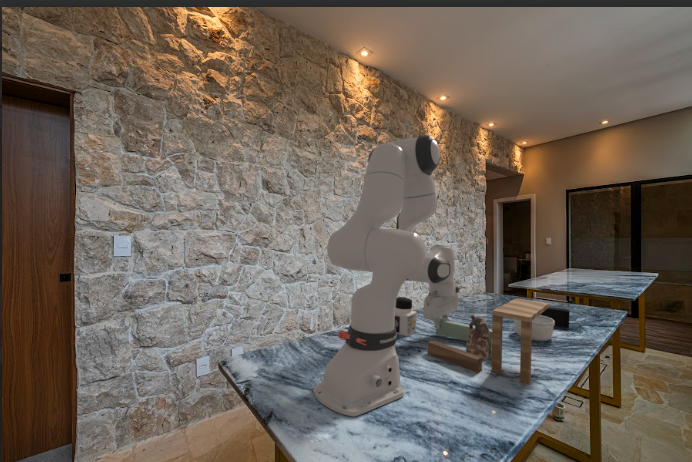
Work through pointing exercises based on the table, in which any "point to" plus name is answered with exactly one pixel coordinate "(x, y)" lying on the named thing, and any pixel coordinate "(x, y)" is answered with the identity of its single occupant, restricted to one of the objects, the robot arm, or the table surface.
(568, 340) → the table surface
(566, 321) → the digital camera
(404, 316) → the container
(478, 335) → the figurine
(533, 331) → the ramekin
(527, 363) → the shelf
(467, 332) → the sage green l-bracket
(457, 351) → the stick
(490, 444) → the table surface
